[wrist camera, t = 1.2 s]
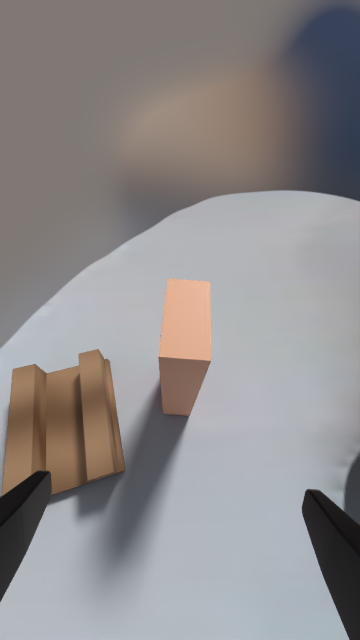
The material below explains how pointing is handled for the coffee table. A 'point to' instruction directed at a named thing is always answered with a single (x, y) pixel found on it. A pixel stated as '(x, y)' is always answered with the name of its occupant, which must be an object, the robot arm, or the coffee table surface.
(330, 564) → the robot arm
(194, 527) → the coffee table surface
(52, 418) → the rack
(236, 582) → the coffee table surface
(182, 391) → the peach rectangular block
